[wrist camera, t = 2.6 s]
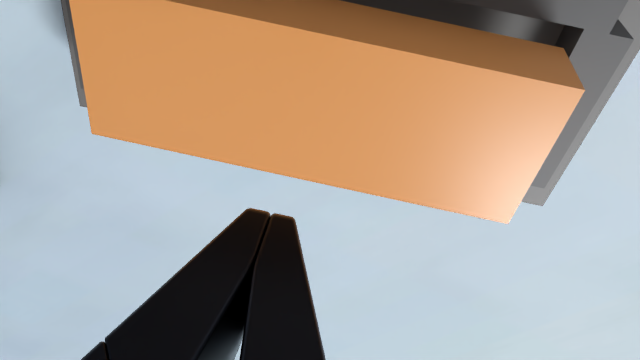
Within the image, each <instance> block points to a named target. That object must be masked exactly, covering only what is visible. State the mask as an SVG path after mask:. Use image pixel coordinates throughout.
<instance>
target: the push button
mask: <svg viewBox="0 0 640 360" xmlns="http://www.w3.org/2000/svg"><path fill="white" fill-rule="evenodd" d="M69 2H70V8H71V14H72V20H73V26H74V32H75V38H76V44H77V49H78V55H79V61H80V67H81V73H82V79H83V85H84V91H85V96H86V102H87V108H88V114H89V120H90V126H91V132H92V134H95V135H100V136H105V137H109V138H114V139H118V140H123V141H128V142H132V143H137V144H141V145H146V146H151V147H155V148H160V149H164V150H169V151H174V152H178V153H183V154H187V155H192V156H197V157H201V158H206V159H211V160H215V161H220V162H224V163H229V164H234V165H238V166H243V167H247V168H252V169H257V170H261V171H266V172H270V173H275V174H280V175H284V176H289V177H293V178H298V179H303V180H307V181H312V182H316V183H321V184H326V185H330V186H335V187H340V188H344V189H349V190H353V191H358V192H363V193H367V194H372V195H376V196H381V197H386V198H390V199H395V200H399V201H404V202H409V203H413V204H418V205H422V206H427V207H432V208H436V209H441V210H446V211H450V212H455V213H459V214H464V215H469V216H473V217H478V218H482V219H487V220H492V221H496V222H501V223H505V224H508V223H509V222H510V220H511V218H512V217H513V215H514V213H515V211H516V210H517V208H518V206H519V204H520V203H521V201H522V199H523V197H524V196H525V194H526V192H527V190H528V189H529V187H530V185H531V184H532V182H533V180H534V178H535V177H536V175H537V173H538V171H539V170H540V168H541V166H542V164H543V163H544V161H545V159H546V157H547V156H548V154H549V152H550V151H551V149H552V147H553V145H554V144H555V142H556V140H557V138H558V137H559V135H560V133H561V131H562V130H563V128H564V126H565V125H566V123H567V121H568V119H569V118H570V116H571V114H572V112H573V111H574V109H575V107H576V105H577V104H578V102H579V100H580V98H581V97H582V95H583V93H584V92H585V89H584V87H583V85H582V83H581V81H580V79H579V77H578V75H577V73H576V71H575V69H574V67H573V65H572V63H571V61H570V60H569V58H568V56H567V54H566V52H565V50H564V48H561V47H556V46H551V45H547V44H542V43H537V42H533V41H528V40H523V39H519V38H514V37H509V36H505V35H500V34H495V33H491V32H486V31H481V30H477V29H472V28H467V27H462V26H458V25H453V24H448V23H444V22H439V21H434V20H430V19H425V18H420V17H416V16H411V15H406V14H402V13H397V12H392V11H388V10H383V9H378V8H373V7H369V6H364V5H359V4H355V3H350V2H345V1H341V0H69Z"/></svg>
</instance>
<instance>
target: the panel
mask: <svg viewBox="0 0 640 360" xmlns="http://www.w3.org/2000/svg"><path fill="white" fill-rule="evenodd" d="M341 1H345V2H350V3H355V4H359V5H364V6H369V7H373V8H378V9H383V10H388V11H392V12H397V13H402V14H406V15H411V16H416V17H420V18H425V19H430V20H434V21H439V22H444V23H448V24H453V25H458V26H462V27H467V28H472V29H477V30H481V31H486V32H491V33H495V34H500V35H505V36H509V37H514V38H519V39H523V40H528V41H533V42H537V43H542V44H547V45H551V46H556V47H561V48H564V50H565V52H566V54H567V56H568V58H569V60H570V61H571V63H572V65H573V67H574V69H575V71H576V73H577V75H578V77H579V79H580V81H581V83H582V85H583V87H584V89H585V92H584V93H583V95H582V97H581V98H580V100H579V102H578V104H577V105H576V107H575V109H574V111H573V112H572V114H571V116H570V118H569V119H568V121H567V123H566V125H565V126H564V128H563V130H562V131H561V133H560V135H559V137H558V138H557V140H556V142H555V144H554V145H553V147H552V149H551V151H550V152H549V154H548V156H547V157H546V159H545V161H544V163H543V164H542V166H541V168H540V170H539V171H538V173H537V175H536V177H535V178H534V180H533V182H532V184H531V185H530V187H529V189H528V190H527V192H526V194H525V196H524V197H523V199H522V201H521V202H526V203H530V204H535V205H540V206H543V205H544V203H545V201H546V200H547V198H548V197H549V195H550V193H551V192H552V190H553V188H554V187H555V185H556V184H557V182H558V180H559V179H560V177H561V176H562V174H563V172H564V171H565V169H566V167H567V166H568V164H569V163H570V161H571V159H572V158H573V156H574V155H575V153H576V151H577V150H578V148H579V147H580V145H581V143H582V142H583V140H584V138H585V137H586V135H587V134H588V132H589V130H590V129H591V127H592V126H593V124H594V122H595V121H596V119H597V117H598V116H599V114H600V113H601V111H602V109H603V108H604V106H605V105H606V103H607V101H608V100H609V98H610V96H611V95H612V93H613V92H614V90H615V88H616V87H617V85H618V84H619V82H620V80H621V79H622V77H623V75H624V74H625V72H626V71H627V69H628V67H629V66H630V64H631V63H632V61H633V59H634V58H635V56H636V54H637V53H638V51H639V50H640V0H341ZM61 4H62V9H63V15H64V20H65V26H66V31H67V37H68V42H69V48H70V53H71V59H72V65H73V70H74V76H75V81H76V87H77V92H78V98H79V103H80V106H83V107H87V102H86V96H85V91H84V85H83V79H82V73H81V67H80V61H79V55H78V49H77V44H76V38H75V32H74V26H73V20H72V14H71V8H70V2H69V0H61Z"/></svg>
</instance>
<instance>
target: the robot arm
mask: <svg viewBox="0 0 640 360" xmlns="http://www.w3.org/2000/svg"><path fill="white" fill-rule="evenodd" d="M242 338H243V339H242ZM241 341H242V347H241V354H240V360H326V359H325V355H324V350H323V346H322V341H321V336H320V332H319V327H318V323H317V318H316V313H315V309H314V304H313V300H312V295H311V290H310V286H309V281H308V277H307V272H306V267H305V263H304V258H303V254H302V249H301V244H300V240H299V235H298V231H297V226H296V222H295V219H294V218H293V217H290V216H285V215H280V214H275V213H274V214H272V215H270V213H269V212H266V211H262V210H257V209H252V208H249V209H246V210H245V211H244V212H243V213H242V214H241V215H240V216H238V217H237V218H236V219H235V220H234V221H233V222H232V223H231V224H230V225H229V226H227V227H226V228H225V229H224V230H223V231H222V232H221V233H220V234H219V235H218V236H217V237H215V238H214V239H213V240H212V241H211V242H210V243H209V244H208V245H207V246H206V247H204V248H203V249H202V250H201V251H200V252H199V253H198V254H197V255H196V256H195V257H193V258H192V259H191V260H190V261H189V262H188V263H187V264H186V265H185V266H184V267H182V268H181V269H180V270H179V271H178V272H177V273H176V274H175V275H174V276H173V277H172V278H170V279H169V280H168V281H167V282H166V283H165V284H164V285H163V286H162V287H161V288H159V289H158V290H157V291H156V292H155V293H154V294H153V295H152V296H151V297H150V298H148V299H147V300H146V301H145V302H144V303H143V304H142V305H141V306H140V307H139V308H137V309H136V310H135V311H134V312H133V313H132V314H131V315H130V316H129V317H128V318H127V319H125V320H124V321H123V322H122V323H121V324H120V325H119V326H118V327H117V328H116V329H114V330H113V331H112V332H111V333H110V334H109V335H108V336H107V337H106V338H105V342H100V343H99V344H98V345H97V346H95V347H94V348H93V349H92V350H91V351H90V352H89V353H88V354H87V355H86V356H85V357H83V358H82V359H81V360H234V359H235V356H236V354H237V351H238V349H239V346H240V344H241Z"/></svg>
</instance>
